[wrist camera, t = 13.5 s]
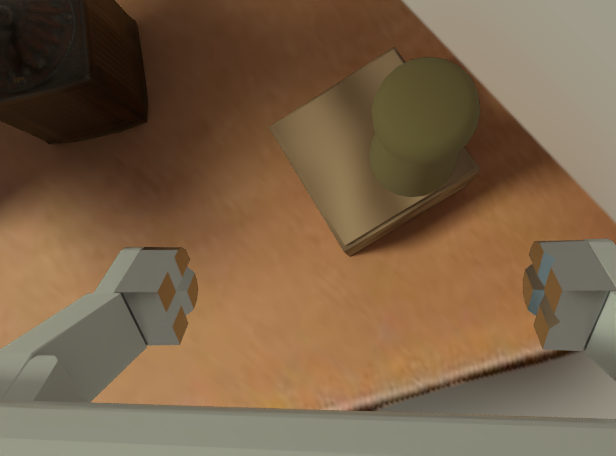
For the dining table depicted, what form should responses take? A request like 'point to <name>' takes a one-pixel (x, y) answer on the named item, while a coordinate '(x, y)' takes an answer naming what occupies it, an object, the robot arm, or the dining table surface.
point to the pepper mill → (70, 69)
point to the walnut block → (354, 159)
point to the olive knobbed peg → (421, 125)
